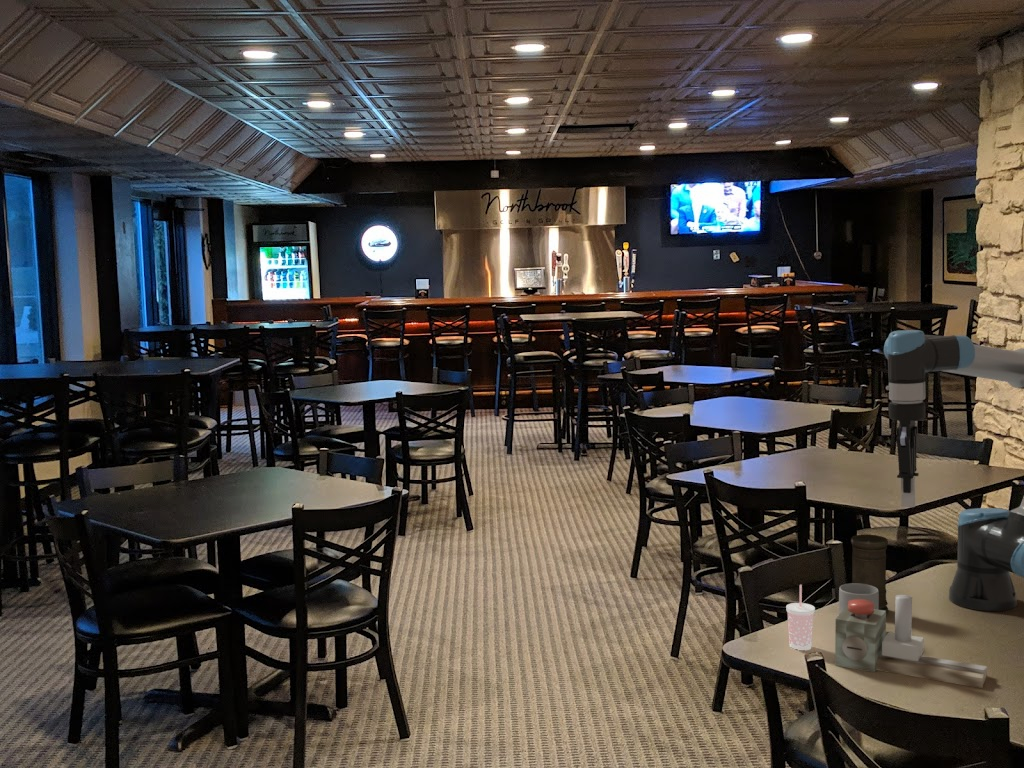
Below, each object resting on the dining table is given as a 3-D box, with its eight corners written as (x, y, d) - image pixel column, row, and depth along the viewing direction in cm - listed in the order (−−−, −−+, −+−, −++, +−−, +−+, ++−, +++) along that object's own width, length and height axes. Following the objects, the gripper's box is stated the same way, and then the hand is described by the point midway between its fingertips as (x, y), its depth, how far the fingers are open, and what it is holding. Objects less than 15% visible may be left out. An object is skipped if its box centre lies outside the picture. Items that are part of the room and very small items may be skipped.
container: (873, 620, 242) (874, 545, 240) (841, 610, 249) (842, 538, 247) (896, 612, 247) (897, 538, 245) (863, 602, 254) (864, 531, 252)
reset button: (876, 626, 218) (876, 601, 217) (870, 634, 213) (871, 608, 213) (851, 622, 220) (851, 597, 220) (845, 630, 216) (845, 604, 215)
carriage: (923, 651, 214) (924, 595, 212) (917, 661, 209) (919, 603, 207) (888, 645, 217) (889, 590, 216) (881, 655, 212) (882, 598, 211)
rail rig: (987, 673, 209) (989, 625, 208) (980, 691, 200) (981, 642, 199) (846, 649, 224) (847, 605, 223) (834, 666, 215) (834, 619, 214)
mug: (867, 645, 226) (868, 597, 225) (831, 636, 232) (832, 589, 231) (891, 631, 234) (892, 584, 233) (856, 623, 240) (856, 577, 239)
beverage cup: (787, 640, 230) (787, 579, 229) (815, 643, 228) (816, 581, 227) (784, 650, 225) (784, 587, 223) (813, 653, 223) (814, 590, 221)
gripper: (894, 396, 234) (895, 498, 236) (883, 405, 222) (885, 511, 225) (929, 396, 230) (930, 500, 233) (920, 405, 219) (921, 514, 221)
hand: (908, 505), depth 229 cm, fingers closed
